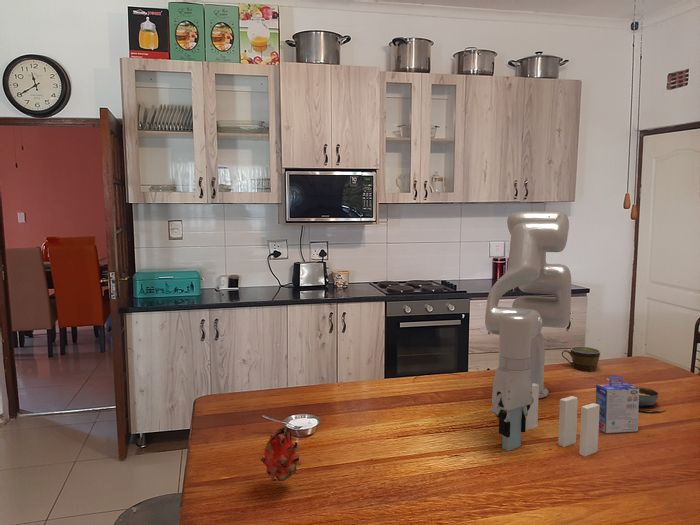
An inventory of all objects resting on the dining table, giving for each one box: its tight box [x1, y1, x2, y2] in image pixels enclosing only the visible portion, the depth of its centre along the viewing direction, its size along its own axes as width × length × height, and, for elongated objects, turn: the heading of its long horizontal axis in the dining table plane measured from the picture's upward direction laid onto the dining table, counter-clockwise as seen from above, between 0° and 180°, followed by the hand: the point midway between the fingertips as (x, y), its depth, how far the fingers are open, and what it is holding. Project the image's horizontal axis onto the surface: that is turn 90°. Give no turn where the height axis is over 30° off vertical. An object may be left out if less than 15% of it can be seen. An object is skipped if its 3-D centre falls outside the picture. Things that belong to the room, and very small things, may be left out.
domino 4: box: [578, 402, 600, 457], centre depth 126 cm, size 2×5×12 cm, turn 122°
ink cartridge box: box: [595, 375, 640, 434], centre depth 141 cm, size 10×6×14 cm, turn 98°
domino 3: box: [557, 395, 579, 448], centre depth 132 cm, size 2×5×12 cm, turn 121°
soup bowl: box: [606, 378, 667, 413], centre depth 159 cm, size 15×16×7 cm
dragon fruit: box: [260, 427, 302, 482], centre depth 112 cm, size 8×8×12 cm
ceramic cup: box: [561, 346, 601, 373], centre depth 189 cm, size 13×10×10 cm
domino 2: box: [525, 383, 539, 432], centre depth 142 cm, size 2×5×12 cm, turn 121°
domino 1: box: [501, 406, 522, 452], centre depth 129 cm, size 2×5×12 cm, turn 121°
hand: (512, 432), depth 129 cm, fingers closed on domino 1, 4 cm apart
